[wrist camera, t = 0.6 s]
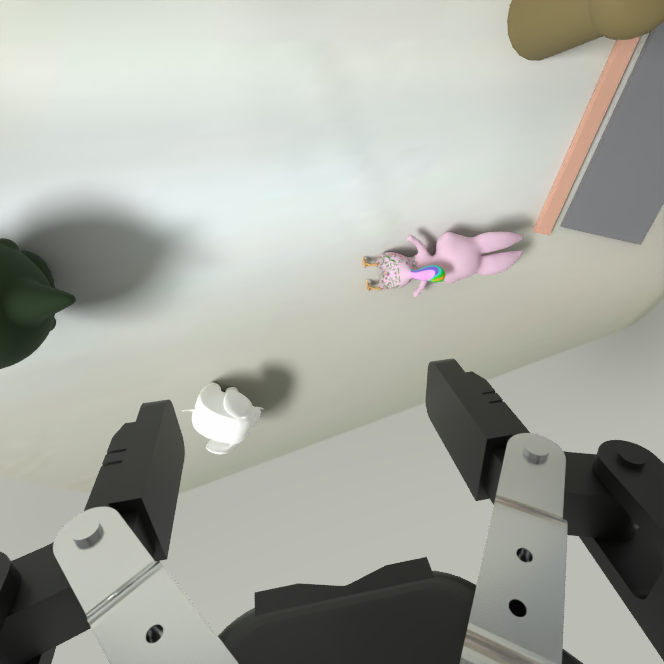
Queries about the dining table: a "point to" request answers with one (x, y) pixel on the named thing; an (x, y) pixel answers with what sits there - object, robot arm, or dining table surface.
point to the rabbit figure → (447, 260)
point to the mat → (627, 157)
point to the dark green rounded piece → (25, 303)
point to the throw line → (586, 133)
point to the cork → (577, 23)
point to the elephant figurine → (223, 417)
